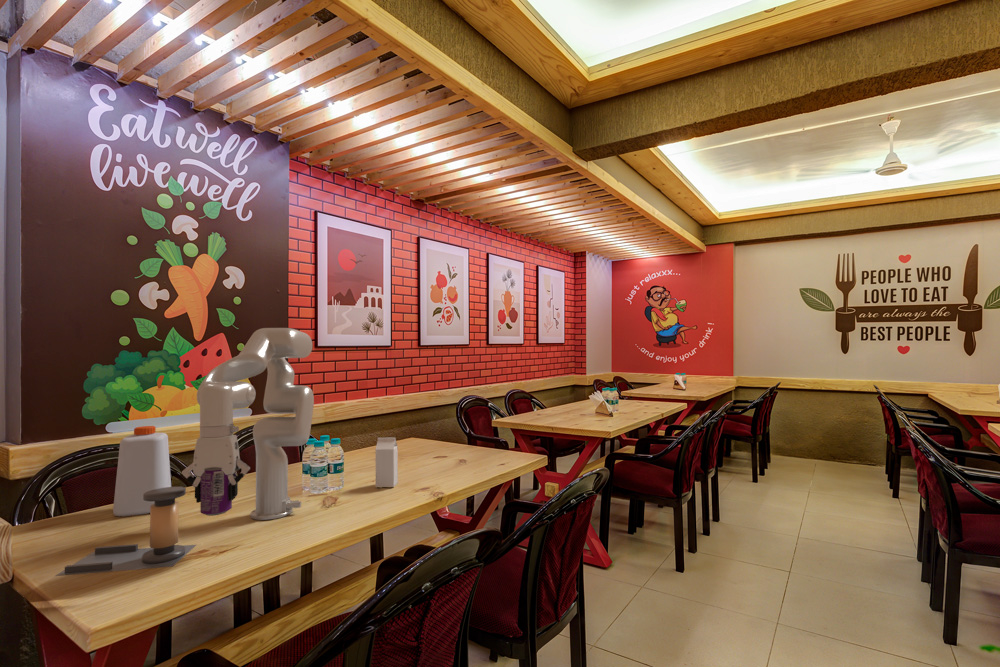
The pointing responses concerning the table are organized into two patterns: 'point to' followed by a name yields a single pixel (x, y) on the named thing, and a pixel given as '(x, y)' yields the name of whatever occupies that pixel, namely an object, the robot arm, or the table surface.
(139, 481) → the plastic bottle
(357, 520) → the table surface
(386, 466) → the milk carton
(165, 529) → the bobbin
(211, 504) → the beverage can
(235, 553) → the table surface
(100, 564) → the board
